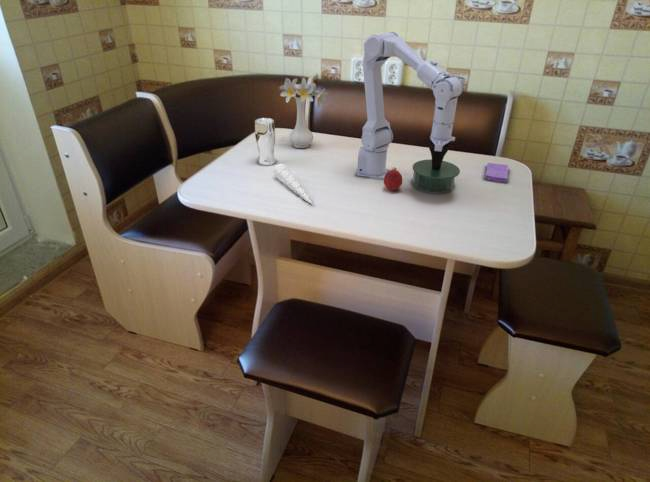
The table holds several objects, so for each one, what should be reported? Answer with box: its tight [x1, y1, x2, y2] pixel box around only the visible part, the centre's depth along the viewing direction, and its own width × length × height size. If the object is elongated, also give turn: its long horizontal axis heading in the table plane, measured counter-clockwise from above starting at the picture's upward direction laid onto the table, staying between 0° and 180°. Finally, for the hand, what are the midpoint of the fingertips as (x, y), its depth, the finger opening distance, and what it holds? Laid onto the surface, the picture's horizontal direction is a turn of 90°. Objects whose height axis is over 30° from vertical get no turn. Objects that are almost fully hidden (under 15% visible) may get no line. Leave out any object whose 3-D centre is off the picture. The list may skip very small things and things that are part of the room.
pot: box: [412, 171, 456, 193], centre depth 147 cm, size 13×13×5 cm
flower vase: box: [279, 77, 329, 149], centre depth 171 cm, size 13×18×25 cm
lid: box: [412, 159, 461, 179], centre depth 136 cm, size 14×14×5 cm
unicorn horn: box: [272, 163, 313, 205], centre depth 142 cm, size 5×24×5 cm, turn 26°
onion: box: [383, 166, 403, 192], centre depth 142 cm, size 6×6×8 cm
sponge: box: [484, 162, 509, 183], centre depth 156 cm, size 7×13×2 cm, turn 160°
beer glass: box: [254, 117, 276, 166], centre depth 159 cm, size 7×7×15 cm
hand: (436, 166), depth 136 cm, fingers closed on lid, 2 cm apart
